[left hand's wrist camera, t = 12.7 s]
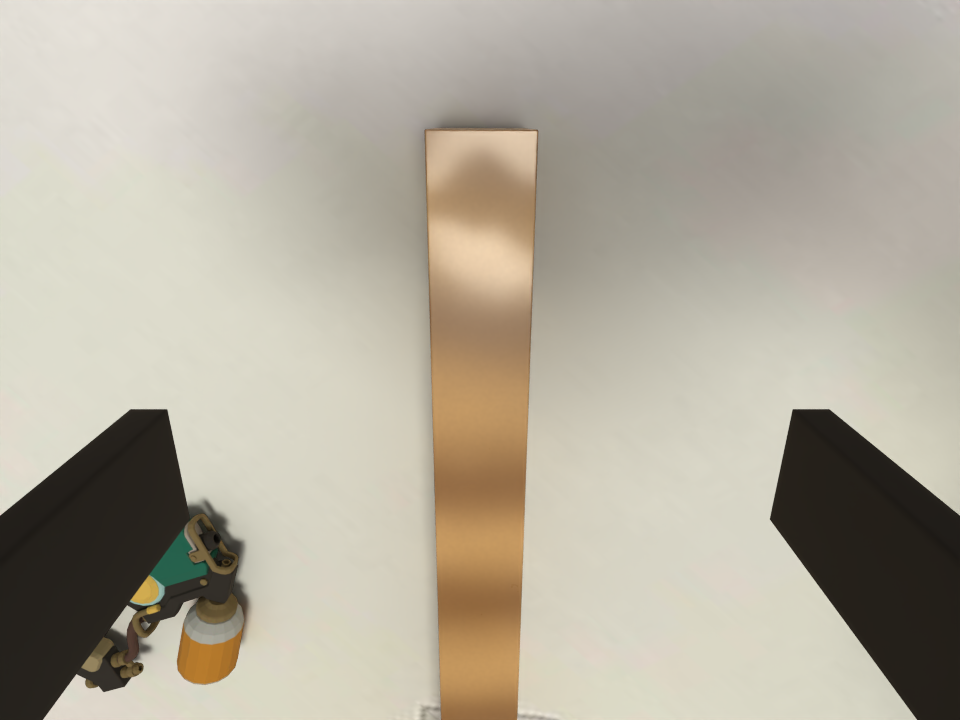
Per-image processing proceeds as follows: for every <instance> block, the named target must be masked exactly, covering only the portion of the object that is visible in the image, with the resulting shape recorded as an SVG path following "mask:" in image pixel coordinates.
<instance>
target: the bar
mask: <svg viewBox="0 0 960 720" xmlns="http://www.w3.org/2000/svg"><path fill="white" fill-rule="evenodd" d="M537 151H538V130H535V129H526V128H433V129H426V130H425V162H426V197H427V233H428V269H429V304H430V340H431V375H432V411H433V447H434V482H435V518H436V553H437V589H438V624H439V660H440V696H441V720H517V708H518V680H519V652H520V624H521V596H522V568H523V541H524V513H525V485H526V457H527V429H528V402H529V374H530V346H531V318H532V290H533V262H534V235H535V207H536V179H537Z"/></svg>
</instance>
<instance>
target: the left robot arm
mask: <svg viewBox="0 0 960 720" xmlns="http://www.w3.org/2000/svg"><path fill="white" fill-rule="evenodd" d="M189 520H190V517H189V512H188V507H187V502H186V497H185V493H184V488H183V483H182V478H181V473H180V469H179V464H178V459H177V454H176V449H175V445H174V440H173V435H172V430H171V425H170V421H169V416H168V411H167V409H131V410H129V411H128V412H127V413H126V414H124V415H123V416H122V417H121V418H120V419H118V420H117V421H116V422H115V423H113V424H112V425H111V426H110V427H108V428H107V429H106V430H105V431H104V432H102V433H101V434H100V435H99V436H97V437H96V438H95V439H94V440H93V441H91V442H90V443H89V444H88V445H86V446H85V447H84V448H83V449H81V450H80V451H79V452H78V453H77V454H75V455H74V456H73V457H72V458H70V459H69V460H68V461H67V462H66V463H64V464H63V465H62V466H61V467H59V468H58V469H57V470H56V471H54V472H53V473H52V474H51V475H50V476H48V477H47V478H46V479H45V480H43V481H42V482H41V483H40V484H39V485H37V486H36V487H35V488H34V489H32V490H31V491H30V492H29V493H27V494H26V495H25V496H24V497H23V498H21V499H20V500H19V501H18V502H16V503H15V504H14V505H13V506H12V507H10V508H9V509H8V510H7V511H5V512H4V513H3V514H2V515H1V516H0V720H43V719H44V717H45V716H46V715H47V713H48V712H49V711H50V709H51V708H52V707H53V705H54V704H55V702H56V701H57V700H58V698H59V697H60V696H61V694H62V693H63V692H64V690H65V689H66V687H67V686H68V685H69V683H70V682H71V681H72V679H73V678H74V677H75V675H76V674H77V673H78V671H79V670H80V668H81V667H82V666H83V664H84V663H85V662H86V660H87V659H88V658H89V656H90V655H91V653H92V652H93V651H94V649H95V648H96V647H97V645H98V644H99V643H100V641H101V640H102V638H103V637H104V636H105V634H106V633H107V632H108V630H109V629H110V628H111V626H112V625H113V624H114V622H115V621H116V619H117V618H118V617H119V615H120V614H121V613H122V611H123V610H124V609H125V607H126V606H127V604H128V603H129V602H130V600H131V599H132V598H133V596H134V595H135V594H136V592H137V591H138V589H139V588H140V587H141V585H142V584H143V583H144V581H145V580H146V579H147V577H148V576H149V575H150V573H151V572H152V570H153V569H154V568H155V566H156V565H157V564H158V562H159V561H160V560H161V558H162V557H163V555H164V554H165V553H166V551H167V550H168V549H169V547H170V546H171V545H172V543H173V542H174V540H175V539H176V538H177V536H178V535H179V534H180V532H181V531H182V530H183V528H184V527H185V526H186V524H187V523H188V521H189ZM770 520H771V521H772V523H773V524H774V526H775V527H776V528H777V530H778V531H779V532H780V534H781V535H782V536H783V538H784V539H785V540H786V542H787V543H788V545H789V546H790V547H791V549H792V550H793V551H794V553H795V554H796V555H797V557H798V558H799V560H800V561H801V562H802V564H803V565H804V566H805V568H806V569H807V570H808V572H809V573H810V575H811V576H812V577H813V579H814V580H815V581H816V583H817V584H818V585H819V587H820V588H821V589H822V591H823V592H824V594H825V595H826V596H827V598H828V599H829V600H830V602H831V603H832V604H833V606H834V607H835V609H836V610H837V611H838V613H839V614H840V615H841V617H842V618H843V619H844V621H845V622H846V624H847V625H848V626H849V628H850V629H851V630H852V632H853V633H854V634H855V636H856V637H857V638H858V640H859V641H860V643H861V644H862V645H863V647H864V648H865V649H866V651H867V652H868V653H869V655H870V656H871V658H872V659H873V660H874V662H875V663H876V664H877V666H878V667H879V668H880V670H881V671H882V673H883V674H884V675H885V677H886V678H887V679H888V681H889V682H890V683H891V685H892V686H893V687H894V689H895V690H896V692H897V693H898V694H899V696H900V697H901V698H902V700H903V701H904V702H905V704H906V705H907V707H908V708H909V709H910V711H911V712H912V713H913V715H914V716H915V717H916V719H917V720H960V516H959V515H958V514H957V513H956V512H955V511H953V510H952V509H951V508H950V507H948V506H947V505H946V504H945V503H944V502H942V501H941V500H940V499H939V498H937V497H936V496H935V495H934V494H933V493H931V492H930V491H929V490H928V489H926V488H925V487H924V486H923V485H921V484H920V483H919V482H918V481H917V480H915V479H914V478H913V477H912V476H910V475H909V474H908V473H907V472H906V471H904V470H903V469H902V468H901V467H899V466H898V465H897V464H896V463H894V462H893V461H892V460H891V459H890V458H888V457H887V456H886V455H885V454H883V453H882V452H881V451H880V450H879V449H877V448H876V447H875V446H874V445H872V444H871V443H870V442H869V441H867V440H866V439H865V438H864V437H863V436H861V435H860V434H859V433H858V432H856V431H855V430H854V429H853V428H852V427H850V426H849V425H848V424H847V423H845V422H844V421H843V420H842V419H840V418H839V417H838V416H837V415H836V414H834V413H833V412H832V411H831V410H829V409H793V411H792V416H791V421H790V425H789V430H788V435H787V440H786V445H785V449H784V454H783V459H782V464H781V469H780V473H779V478H778V483H777V488H776V493H775V497H774V502H773V507H772V512H771V517H770Z"/></svg>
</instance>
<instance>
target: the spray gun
mask: <svg viewBox="0 0 960 720" xmlns="http://www.w3.org/2000/svg"><path fill="white" fill-rule="evenodd" d="M199 519H201V520H202V522H203V523H204V525H205V527H206V528H207V530H208V532H205V533H203V531H202V530H201V528H200V526H199V525H198V523H197V521H198V520H199ZM217 547H218V548H219V550H220V551H221V553H222V555H223V556H225V557H228V558H231V559H233V560H234V562H233V563H231V561H230V560H229V559H225V560H223V561H222V560H220V561H218V560H217V559H216V556H217V553H218V549H217ZM237 563H238V556H237V554H235V553H233V552H229V551H228V550H227V549H226V547H225V545H224V544H223V542H222V540H221V537H220V535H219V534H218V533H217V532H216V530H215V529H214V527H213V525H212V524H211V522H210V520H209V519H208V517H207V516H206V515H205V514H202V513H201V514H198V515H196V516H194V517H193V518H192V519H190V520H189V521H188V523H187V524H186V526H185V527H184V528H183V530H182V531H181V532H180V534H179V535H178V536H177V538H176V539H175V540H174V542H173V543H172V545H171V546H170V547H169V549H168V550H167V551H166V553H165V554H164V555H163V557H162V558H161V560H160V561H159V562H158V564H157V565H156V566H155V568H154V569H153V570H152V572H151V573H150V575H149V576H148V577H147V579H146V580H145V581H144V583H143V584H142V585H141V587H140V588H139V589H138V591H137V592H136V594H135V595H134V596H133V598H132V599H131V600H130V602H129V603H128V604H127V605H128V606H130V607H131V608H133V609H135V610H136V611H138V612H137V613H136V614H135V615H133V618H132V620H131V622H130V623H129V626H128V629H127V643H128V648H129V649H128V650H124V651H122V652H119V650H118V649H117V648H116V646H114V643H113V642H112V641H111V640H110V639H107V638H105V637H103V638H102V640H101V641H100V643H99V644H98V645H97V647H96V648H95V649H94V651H93V652H92V653H91V655H90V656H89V658H88V659H87V660H86V662H85V663H84V664H83V666H82V667H81V668H80V670H79V671H78V673H77V675H79V676H81V677H83V678H86V681H85V685H86V687H88V688H95V687H98V686H99V687H100V688H101V689H102V691H103V692H106V691H110V690H113V689H117V688H121V687H125V685H126V684H127V683H128V681H129V680H130V679H131V677H134V676H137V675H139V674H140V673H141V672H142V671H143V664H142V663H138V662H136V663H134V662H133V661H132V660H133V659H134V658H135V657H136V656H137V654H138V652H139V644H138V639H137V634H138V636H140V637H143V638H146V637H148V636H149V635H150V634H151V633H152V632H153V631H154V630H155V628H156V627H157V625H158V623H159V622H160V620H164V619H167V618H171V617H174V616H176V614H177V613H178V612H179V610H180V608H181V606H182V604H183V602H186V601H189V600H192V599H195V598H198V597H200V598H199V600H198V601H197V602H196V603H195V604H194V605H193V606H192V607H191V608H190V610H189V612H188V613H187V615H186V618H185V620H184V623H183V629H182V634H181V640H180V646H179V652H178V658H177V666H178V671H179V673H180V674H181V675H182V677H183V678H184V679H185V680H187V681H189V682H191V683H193V684H201V685H207V684H211V683H216V682H218V681H220V680H222V679H224V678H225V677H227V676H228V675H229V674H230V673H231V671H232V670H233V669H234V668H235V666H236V662H237V659H238V654H239V648H240V642H241V637H242V631H243V625H244V616H243V612H242V608H241V606H240V605H239V604H238V602H237V598H236V597H235V596H234V595H233V594H232V593H231V592H232V588H233V584H234V580H235V576H236V571H237V567H238V565H237ZM144 621H145V622H147V623H148V624H149V623H151V624H150V626H149V627H148V628H147V629H146V630H144V629H143V628H142V626H141V623H142V622H144Z"/></svg>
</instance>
